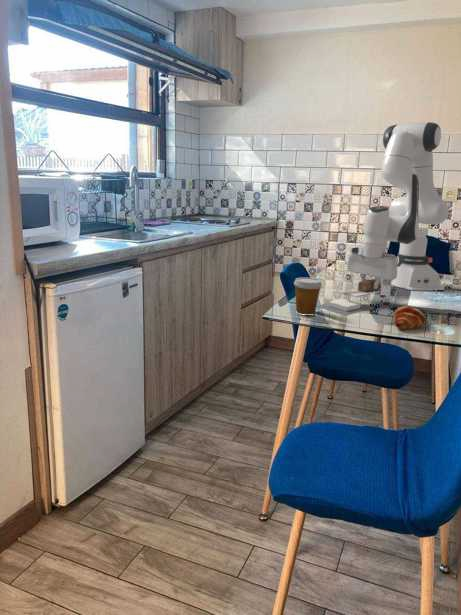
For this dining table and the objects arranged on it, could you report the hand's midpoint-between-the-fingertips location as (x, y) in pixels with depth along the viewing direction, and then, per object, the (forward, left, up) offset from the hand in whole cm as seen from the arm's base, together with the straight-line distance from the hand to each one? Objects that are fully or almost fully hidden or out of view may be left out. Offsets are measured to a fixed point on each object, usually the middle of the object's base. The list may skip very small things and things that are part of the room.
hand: (369, 287), depth 193 cm
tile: (+7, +7, -5) cm, 11 cm away
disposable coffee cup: (+25, +19, -7) cm, 32 cm away
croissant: (-10, +24, -7) cm, 27 cm away
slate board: (+10, +10, -7) cm, 15 cm away
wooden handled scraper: (+3, +3, -2) cm, 4 cm away
